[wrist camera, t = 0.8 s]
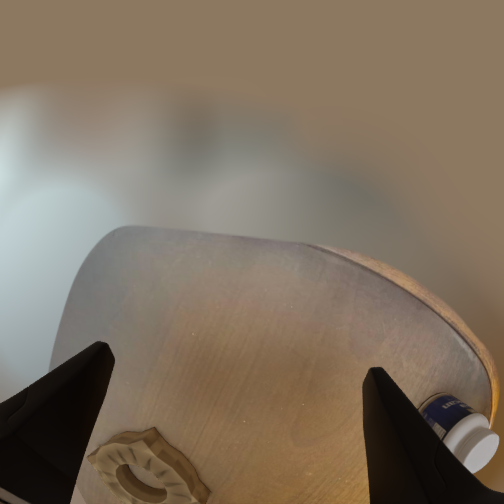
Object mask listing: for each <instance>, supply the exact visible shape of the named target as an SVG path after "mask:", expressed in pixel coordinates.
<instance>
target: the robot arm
mask: <svg viewBox="0 0 504 504" xmlns="http://www.w3.org/2000/svg"><path fill="white" fill-rule="evenodd" d="M114 364H115V358H114V355H113V353H112V351H111V349H110V347H109V345H108V344H107V343H105V342H101V341H97V342H95V343H93V344H92V345H90V346H89V347H87V348H86V349H84V350H83V351H81V352H80V353H78V354H77V355H75V356H74V357H72V358H71V359H69V360H68V361H66V362H64V363H63V364H61V365H60V366H58V367H57V368H55V369H54V370H52V371H51V372H49V373H48V374H46V375H45V376H43V377H42V378H40V379H39V380H37V381H36V382H34V383H33V384H31V385H30V386H29V387H27V388H25V389H24V390H22V391H21V392H19V393H17V394H16V395H14V396H13V397H11V398H9V399H7V400H6V401H4V402H2V403H0V504H70V502H71V498H72V494H73V491H74V487H75V484H76V480H77V477H78V473H79V470H80V467H81V464H82V460H83V457H84V454H85V451H86V448H87V445H88V442H89V439H90V437H91V434H92V431H93V428H94V425H95V423H96V420H97V417H98V414H99V412H100V409H101V407H102V404H103V401H104V399H105V396H106V392H107V389H108V385H109V382H110V378H111V374H112V371H113V368H114ZM362 393H363V430H364V439H365V448H366V457H367V467H368V479H369V494H370V504H504V493H501V492H497V491H493V490H491V489H489V488H487V487H486V486H484V485H483V484H482V483H481V482H480V481H479V480H478V479H477V478H476V477H475V476H474V475H473V474H472V473H471V472H470V471H469V470H468V469H467V468H466V467H465V466H464V465H463V464H462V463H461V462H460V461H459V460H458V459H457V458H456V457H455V455H454V454H453V453H452V452H451V451H450V449H449V448H448V447H447V446H446V445H445V443H444V442H443V441H442V440H440V437H439V436H438V435H437V433H436V432H435V431H434V430H433V428H432V427H431V426H430V425H429V423H428V422H427V421H426V420H425V418H424V417H423V416H422V415H421V414H420V412H419V411H418V410H417V409H416V407H415V406H414V405H413V404H412V402H411V401H410V400H409V399H408V398H407V396H406V395H405V394H404V393H403V392H402V390H401V389H400V388H399V387H398V385H397V384H396V383H395V382H394V381H393V379H392V378H391V377H390V376H389V375H388V373H387V372H386V371H385V370H384V369H383V368H382V367H372V368H370V369H369V370H368V373H367V375H366V377H365V379H364V382H363V386H362Z"/></svg>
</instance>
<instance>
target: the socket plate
mask: <svg viewBox="0 0 504 504" xmlns="http://www.w3.org/2000/svg"><path fill="white" fill-rule="evenodd" d="M86 458H87V459H88V460H89V462H90V463H91V464H92V466H93V467H94V468H95V469H96V470H97V472H98V473H99V475H100V477H101V479H102V481H103V483H104V484H105V485H106V487H107V488H108V489H109V490H110V491H111V492H112V493H113V494H114V495H115V496H116V497H117V498H118V499H120V500H121V501H123V502H124V503H125V504H206V502H207V499H208V497H209V494H210V491H209V490H208V489H207V488H206V487H205V486H204V485H203V484H202V483H201V482H200V480H199V479H198V476H197V474H196V471H195V469H194V467H193V466H192V465H191V464H190V463H189V461H188V460H187V459H186V458H185V457H184V456H183V455H182V453H180V452H179V451H177V450H176V449H174V448H173V447H171V446H170V445H169V444H167V443H166V442H165V440H164V439H163V438H162V437H161V436H160V434H159V433H158V431H157V430H156V429H155V427H154V428H151V429H149V430H146V431H144V432H141V433H137V432H124V433H121V434H119V435H116V436H114V437H112V438H111V439H110V440H109V441H108V442H106V443H105V444H104V445H103V446H101V447H98V448H97V449H96V450H95V451H93V452H92V453H91V454H90V455H88V456H87V457H86ZM127 464H131V465H137V466H139V467H141V468H144V469H146V470H147V471H149V472H150V473H152V474H153V475H155V476H156V477H157V478H158V479H159V480H160V481H161V482H162V483H163V484H164V486H165V489H166V490H161V489H154V488H151V487H149V486H146V485H145V484H143V483H142V482H140V481H139V480H137V479H136V477H135V476H134V475H133V474H132V473H131V472H130V470H129V467H128V465H127Z"/></svg>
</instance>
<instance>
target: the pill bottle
mask: <svg viewBox="0 0 504 504" xmlns="http://www.w3.org/2000/svg"><path fill="white" fill-rule="evenodd" d="M418 411H419V412H420V414H421V415H422V416H423V417H424V418H425V420H426V421H427V422H428V423H429V425H430V426H431V427H432V428H433V430H434V431H435V432H436V433H437V435H438V436H439V437H440V440H442V441H443V442H444V443H445V445H446V446H447V447H448V448H449V449H450V451H451V452H452V453H453V454H454V455H455V457H456V458H457V459H458V460H459V461H460V462H461V463H462V464H463V465H464V466H465V467H466V468H467V469H468V470H469V471H470V472H471V473H472V474H473V473H475V472H477V471H478V470H480V469H481V468H483V467H484V466H485V465H486V464H487V463H488V462H489V461H490V459H491V458H492V456H493V455H494V453H495V452H496V450H497V447H498V444H499V437H498V435H497V434H496V433H494V432H493V431H492V430H490V429H489V423H488V420H487V419H486V417H485V416H483V415H482V414H481V413H479V412H477V411H476V410H474V409H473V408H471V407H469V406H468V405H466V404H465V403H463V402H461V401H460V400H458V399H457V398H455V397H453V396H452V395H450V394H447V393H441V394H437V395H434V396H432V397H431V398H429V399H428V400H427V401H425V402H424V403H423V405H422V406H421V407H420V408H419V410H418Z"/></svg>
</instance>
